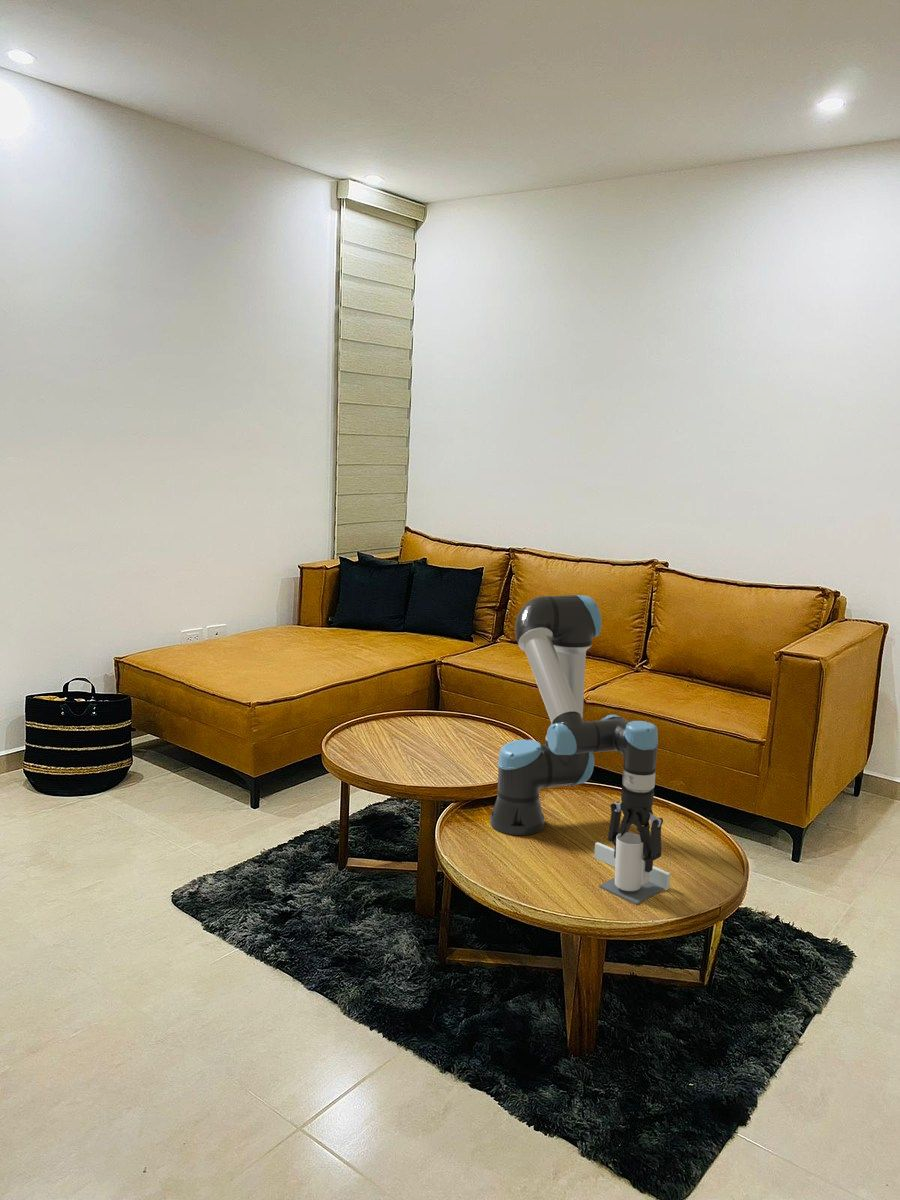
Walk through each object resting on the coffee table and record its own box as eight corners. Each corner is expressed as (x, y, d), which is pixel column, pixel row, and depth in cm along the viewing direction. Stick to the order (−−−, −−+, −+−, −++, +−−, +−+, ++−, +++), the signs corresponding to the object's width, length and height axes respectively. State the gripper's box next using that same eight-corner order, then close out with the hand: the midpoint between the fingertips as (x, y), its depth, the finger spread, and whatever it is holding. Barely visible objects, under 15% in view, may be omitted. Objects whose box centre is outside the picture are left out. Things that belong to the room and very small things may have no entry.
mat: (599, 887, 216) (599, 885, 216) (626, 873, 224) (626, 871, 224) (636, 904, 208) (636, 903, 208) (663, 889, 216) (663, 888, 216)
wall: (594, 857, 232) (595, 843, 231) (597, 856, 232) (597, 842, 232) (666, 890, 216) (667, 874, 215) (669, 888, 216) (670, 873, 216)
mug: (632, 895, 210) (635, 847, 208) (608, 885, 215) (610, 838, 212) (654, 880, 217) (657, 834, 215) (630, 871, 222) (633, 825, 220)
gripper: (595, 778, 216) (590, 867, 220) (663, 803, 202) (656, 897, 206) (614, 771, 221) (609, 858, 225) (682, 795, 207) (675, 887, 211)
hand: (631, 877), depth 216 cm, fingers closed on mug, 6 cm apart
